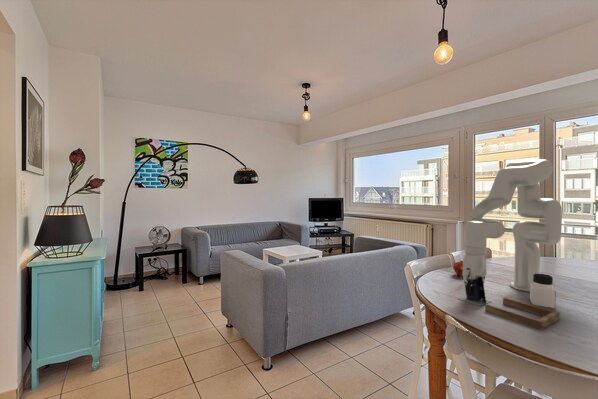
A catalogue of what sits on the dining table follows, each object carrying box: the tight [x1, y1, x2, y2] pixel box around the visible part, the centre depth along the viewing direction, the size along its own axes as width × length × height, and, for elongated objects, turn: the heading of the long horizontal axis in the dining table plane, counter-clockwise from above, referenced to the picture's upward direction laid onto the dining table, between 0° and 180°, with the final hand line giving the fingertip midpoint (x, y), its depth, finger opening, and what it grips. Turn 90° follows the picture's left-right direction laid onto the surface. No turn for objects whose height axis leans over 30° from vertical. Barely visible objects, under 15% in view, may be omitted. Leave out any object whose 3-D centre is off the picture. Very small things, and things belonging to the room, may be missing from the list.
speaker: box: [463, 276, 487, 303], centre depth 123 cm, size 8×6×10 cm
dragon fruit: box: [452, 260, 464, 277], centre depth 158 cm, size 8×8×12 cm
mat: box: [457, 295, 492, 307], centre depth 123 cm, size 9×9×1 cm
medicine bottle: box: [529, 272, 557, 309], centre depth 119 cm, size 7×7×12 cm
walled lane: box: [484, 296, 561, 330], centre depth 108 cm, size 15×18×2 cm
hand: (474, 293), depth 122 cm, fingers closed on speaker, 6 cm apart
